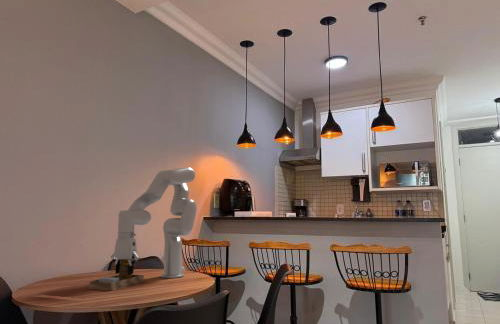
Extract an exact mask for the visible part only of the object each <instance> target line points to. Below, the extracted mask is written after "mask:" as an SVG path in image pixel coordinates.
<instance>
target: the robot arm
mask: <svg viewBox="0 0 500 324" xmlns="http://www.w3.org/2000/svg"><path fill="white" fill-rule="evenodd" d="M195 178H196V172H195V170H194V169H193V168H191V167H187V166H186V167H178V168H174V169H165V170H161V171H158V172H157V173H156V175H155V176H154V178H153V179H152V181H151V183H150V184H149V186H148V188H147V189H146V191H144V192H143V193H142V194H140V196H138V197H137V199H135V200H133V202H132V203H131V205H130V206H129V208H128V209H127V210H126V209H125V210H120V211H119V212H118V222H117V223H118V226H117V238H116V241H115V246H114V252H113V254H112V255H110V258H111V260H112V261H113V263H114V266H115V275H118V274H119V269H120V263H121V260H128V262H129V265H130V266H128V274H132V275H134V268H135V265H136V264H137V262H138V261H139V259H140V256H139V255H138V253H137V249H138V248H137V241H136V240H137V239H136V238H135V237H136V233H135V226H137V225H138V226H145V225H147V224H148V223H150V221H151V220H152V215H151V213H150V212H149V211H148V210H145V209H146V208H147V207H149V206H151V205H153V204H155V203H157V202H158V201H160V200H161V199H162V197H163V195H164V194H165V192H166V190H167V188H168V187H169V186H173V189H174V191H173V192H174V193H173V196H172V200H171V204H170V210H169V211H170V213H171V215H172V216H173V217H170V218H167V219H165V221H164V223H163V225H162V229H163V236H164V248H163V249H164V250H163V252H164V255H163V272H162V273H161V274H160V277H161V278H164V279H165V278H166V279H174V278H182V277H184V276H185V273H184V272H183V271H184V270H185V267H184V266H182V264H183V263H182V259H183V258H182V257H183V254H182V253H183V242H182V240H183V239H182V238H181V236H188V235H190V233H192V230H193V228H194V224H195V220H196V216H197V204H196V202H195V200H193V199H192V198H191V199H190V198H189V195H190V190H189V189H190V188H189V186H188V185H187V184H188V183H191V182H192V181H194V180H195ZM174 216H175V217H174Z"/></svg>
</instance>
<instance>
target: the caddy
mask: <svg viewBox="0 0 500 324" xmlns="http://www.w3.org/2000/svg"><path fill="white" fill-rule="evenodd" d="M110 277H113V278H119V274H115V275H111V276H110ZM144 277H145V276H144V274H132V278H129V279H119V281H117V282H114V283H110V282H99V278H98V279H94V280H89V282H88V290H89V289H90V290H100V291H101V290H102V291H116V290H119V289H122V288H126V287H129V286H133V285H136V284H140V283H143V282H144Z"/></svg>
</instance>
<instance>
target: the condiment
mask: <svg viewBox="0 0 500 324" xmlns="http://www.w3.org/2000/svg"><path fill="white" fill-rule="evenodd" d="M128 266H130V265H129V262H128V260H121V263H120V269H119V273H118V275H119V279H129V278H132V275H133V274H128Z"/></svg>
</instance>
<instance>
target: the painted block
mask: <svg viewBox="0 0 500 324" xmlns="http://www.w3.org/2000/svg"><path fill="white" fill-rule="evenodd" d="M98 279H99V282H110V283H114V282H117V281H119V278H113V277H111V276H104V277H99V278H98Z"/></svg>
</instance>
